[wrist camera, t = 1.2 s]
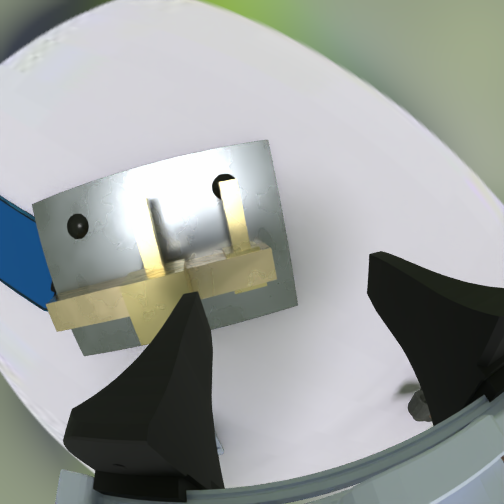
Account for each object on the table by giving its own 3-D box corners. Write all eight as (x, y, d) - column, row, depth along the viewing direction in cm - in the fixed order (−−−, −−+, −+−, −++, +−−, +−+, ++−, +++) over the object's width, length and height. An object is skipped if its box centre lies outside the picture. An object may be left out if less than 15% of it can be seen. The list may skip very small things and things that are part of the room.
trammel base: (294, 301, 25) (308, 316, 22) (86, 351, 22) (76, 370, 19) (265, 141, 21) (277, 133, 18) (36, 203, 18) (17, 206, 15)
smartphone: (-31, 175, 15) (72, 241, 19) (-26, 175, 16) (77, 239, 20) (-45, 243, 16) (51, 316, 20) (-40, 242, 17) (56, 312, 21)
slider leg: (198, 299, 22) (201, 331, 17) (150, 311, 21) (141, 345, 16) (170, 192, 20) (164, 192, 15) (120, 206, 19) (97, 211, 14)
